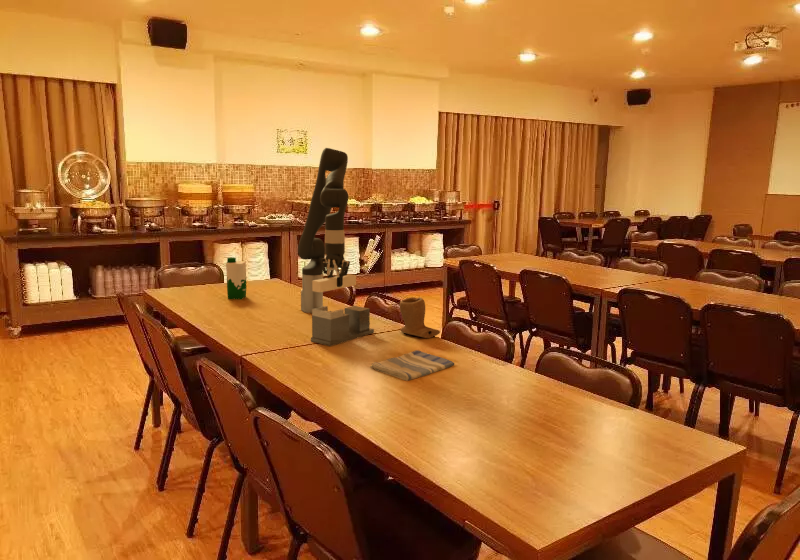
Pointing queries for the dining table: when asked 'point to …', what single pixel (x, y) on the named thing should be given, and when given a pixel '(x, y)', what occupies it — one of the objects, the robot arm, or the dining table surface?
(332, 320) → the stand
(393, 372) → the dish towel
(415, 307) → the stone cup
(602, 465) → the dining table surface
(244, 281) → the milk carton
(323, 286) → the rail
